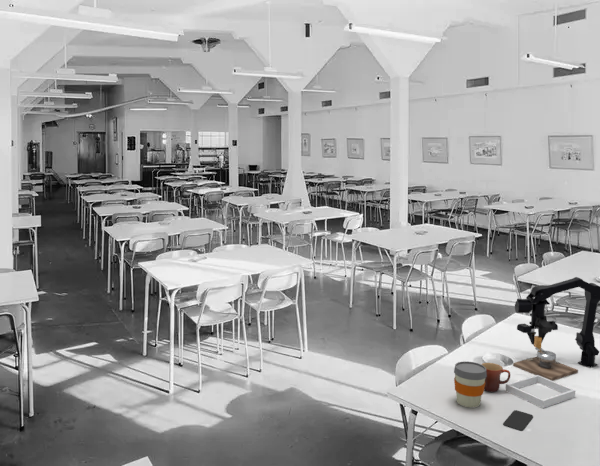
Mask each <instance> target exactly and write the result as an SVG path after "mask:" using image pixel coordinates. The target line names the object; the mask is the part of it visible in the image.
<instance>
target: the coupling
mask: <svg viewBox="0 0 600 466" xmlns="http://www.w3.org/2000/svg"><path fill="white" fill-rule="evenodd" d="M541 342H542V343H543V341H542V337H540V336H538V335H535V338H534V345H533V347H535V348H534V349H535V350H536V351H537V352H536V357H537V360H539V361H542V362H546V363H553V362H555V361H556V356H557V355H556V353H555V352H552V351H549V350H545V349H543V348H542V344H541Z"/></svg>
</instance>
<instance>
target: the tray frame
mask: <svg viewBox="0 0 600 466" xmlns="http://www.w3.org/2000/svg"><path fill="white" fill-rule="evenodd" d="M537 383H538V384H540V385H542V386H545V387H548V388H550V389H552V390H555V391H557V392H559V394H556V395H552V396H549V397H547V398H543V399H542V398H540V397H538V396H536V395H533V394H531V393H529V392H527V391H524V390H522V389H521V388H525V387H527V386H531V385H534V384H537ZM504 391H505V392H506V393H509V394H510V395H513V396H516V397H518V398H520V399H522V400H524V401H527V402H528V403H530V404H533V405H535V406H537V407H539V408H541V409H544V408H547V407H551V406H553V405H557V404H558V403H563V402H565V401H569V400H571V399H574V398H576V389H574V388H571V387H568V386H566V385H563V384H562V383H558V382H556V381H555V380H553V381H551V380H549V379H546V378H544V377H542V376H539V375H533V376H529V377H526V378H521V379H519V380H516V381H512V382H509V383H508V382H507V383H505V390H504Z"/></svg>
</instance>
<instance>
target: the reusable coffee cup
mask: <svg viewBox="0 0 600 466" xmlns="http://www.w3.org/2000/svg"><path fill="white" fill-rule="evenodd" d="M481 364H482V363H477V362H474V361H466V360H465V361H458V362H456V363H455V364H454V369H453V373H454V378H453V381H454V390H455V392H456V393H455V394H456V402H457V404H458V405H460V406H462V407H465V408H472V409H473V408H477V407H479V406H480V405H481V400H482V396H483V395H484V391H485V390H484V387H485V378H486V376H487V374H486V367H484V366H483V365H481Z"/></svg>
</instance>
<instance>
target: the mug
mask: <svg viewBox="0 0 600 466" xmlns="http://www.w3.org/2000/svg"><path fill="white" fill-rule="evenodd" d="M480 364H481V365H483V366H484V367H486V374H487V376H486V378H485V387H484V391H486V392H489V393H496V392H498V391H499V389H500V386H501V385H504V384H505V385H506V384H508V382H509V381H510V379H511V372H510V371H509V370H508V369H504V368H503V366H502V365H500V364H497V363H494V362H483V363H480ZM503 373H507V378H506V379H505V380H501V374H503Z"/></svg>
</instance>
